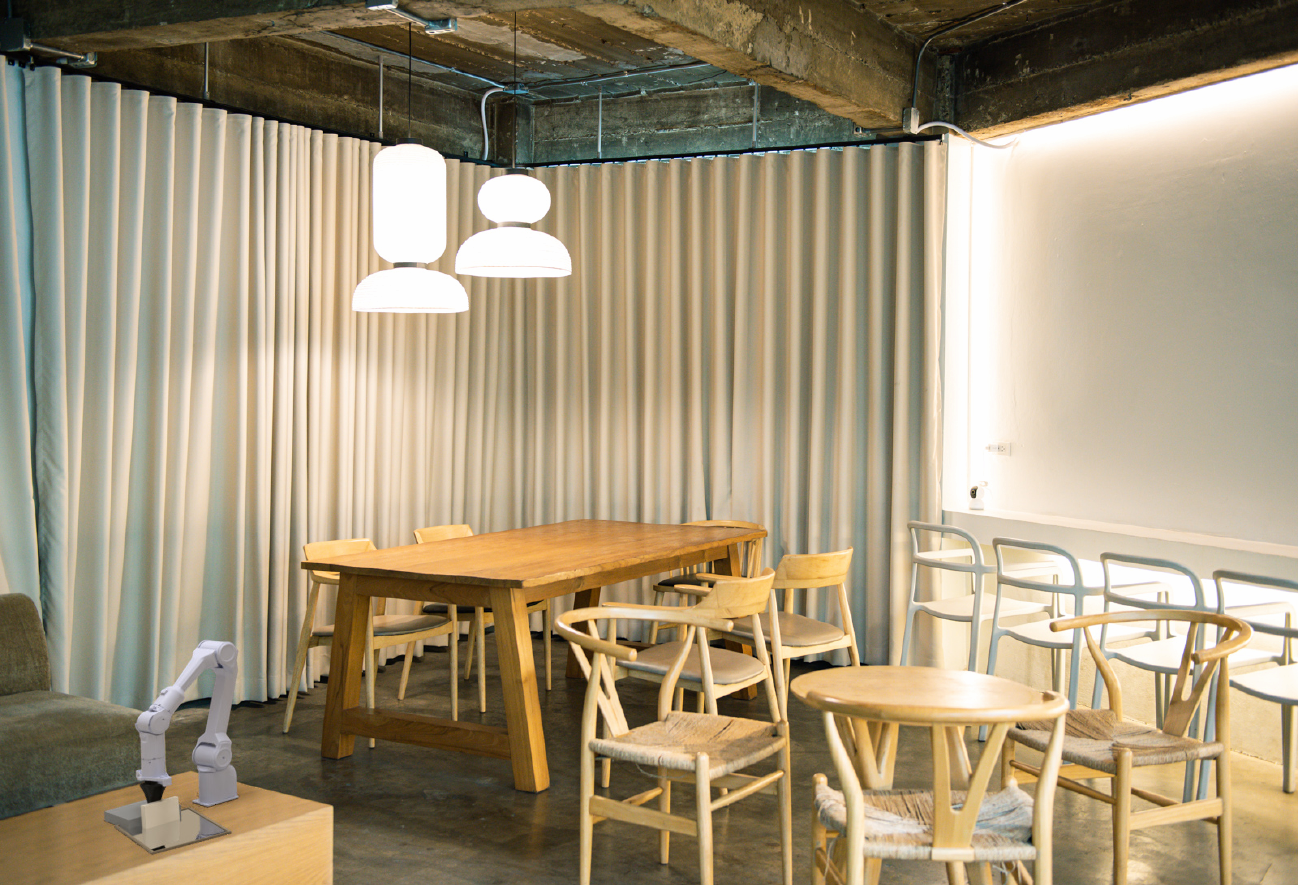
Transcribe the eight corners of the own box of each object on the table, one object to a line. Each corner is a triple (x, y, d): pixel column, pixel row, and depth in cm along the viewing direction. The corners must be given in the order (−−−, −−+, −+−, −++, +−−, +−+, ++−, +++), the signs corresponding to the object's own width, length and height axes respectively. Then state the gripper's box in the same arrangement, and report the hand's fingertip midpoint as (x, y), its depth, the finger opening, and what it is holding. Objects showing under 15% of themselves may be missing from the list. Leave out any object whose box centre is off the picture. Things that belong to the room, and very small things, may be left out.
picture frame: (114, 829, 275) (152, 856, 254) (114, 825, 275) (152, 852, 254) (190, 810, 288) (231, 835, 268) (189, 806, 288) (231, 831, 268)
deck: (155, 805, 291) (155, 796, 291) (181, 814, 284) (180, 804, 284) (104, 820, 280) (104, 811, 280) (129, 829, 272) (128, 820, 272)
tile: (174, 796, 281) (178, 796, 279) (176, 819, 280) (179, 819, 279) (140, 805, 273) (144, 806, 272) (142, 829, 273) (146, 829, 272)
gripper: (124, 756, 280) (125, 808, 279) (152, 765, 271) (153, 818, 271) (150, 750, 285) (151, 801, 285) (178, 758, 277) (180, 810, 276)
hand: (154, 809), depth 278 cm, fingers closed
